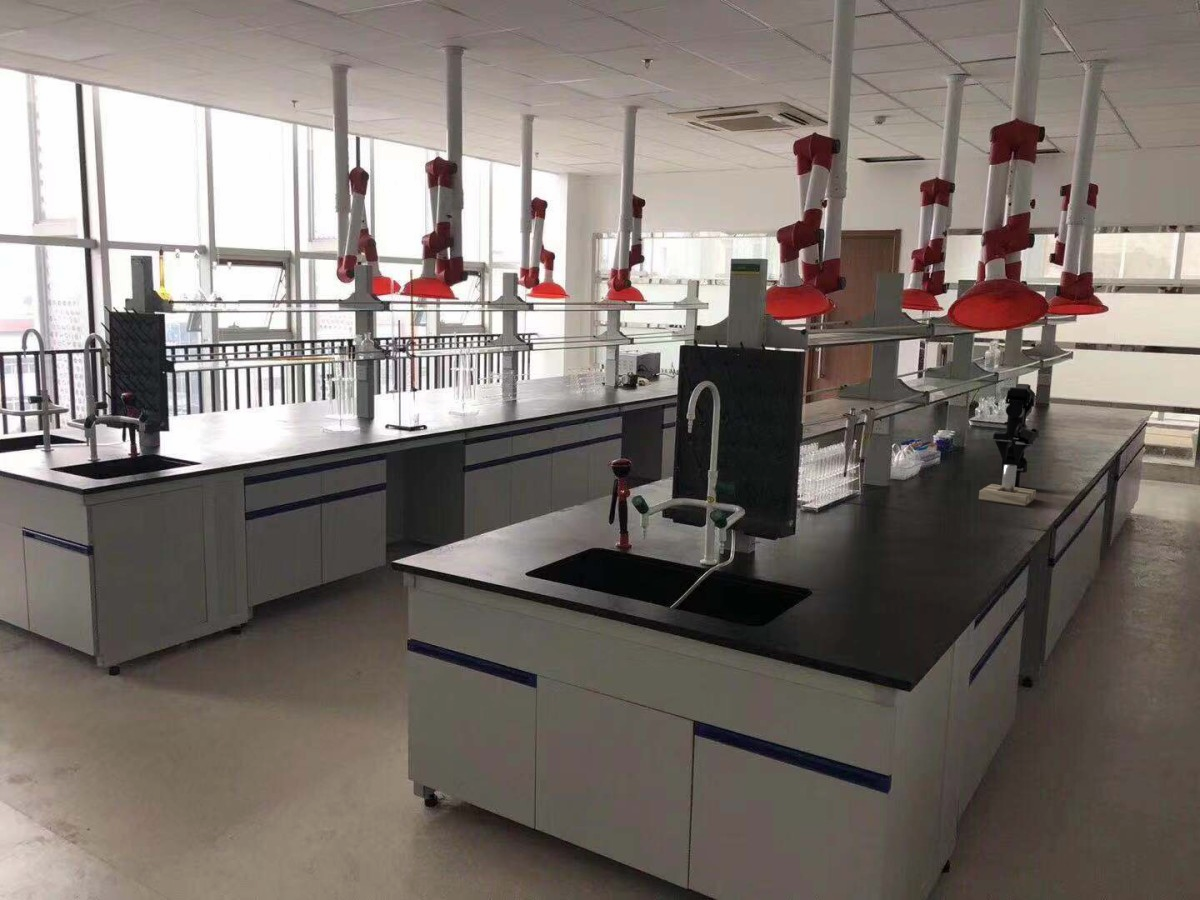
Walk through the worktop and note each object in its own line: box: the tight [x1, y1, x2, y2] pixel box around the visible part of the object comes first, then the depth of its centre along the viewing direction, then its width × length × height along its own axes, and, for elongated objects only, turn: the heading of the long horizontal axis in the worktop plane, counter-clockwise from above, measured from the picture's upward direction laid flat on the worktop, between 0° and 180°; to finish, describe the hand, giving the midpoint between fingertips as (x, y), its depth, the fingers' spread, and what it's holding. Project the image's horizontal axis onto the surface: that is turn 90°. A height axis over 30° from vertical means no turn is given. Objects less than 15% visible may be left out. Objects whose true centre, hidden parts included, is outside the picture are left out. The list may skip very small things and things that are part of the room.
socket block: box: [978, 483, 1037, 508], centre depth 344 cm, size 16×16×4 cm
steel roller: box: [1001, 464, 1017, 493], centre depth 343 cm, size 4×4×12 cm
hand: (1010, 461), depth 352 cm, fingers open, 9 cm apart
